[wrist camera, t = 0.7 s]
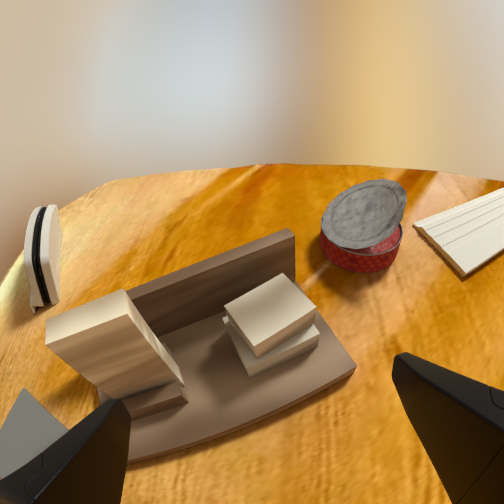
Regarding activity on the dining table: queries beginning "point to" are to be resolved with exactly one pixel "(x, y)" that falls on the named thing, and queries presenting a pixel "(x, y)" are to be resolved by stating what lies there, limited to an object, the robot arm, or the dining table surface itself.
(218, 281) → the grey desk organizer
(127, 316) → the birch board
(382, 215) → the canned food
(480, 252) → the baseboard molding
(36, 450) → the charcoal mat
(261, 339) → the offcut stack
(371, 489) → the dining table surface
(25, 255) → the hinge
